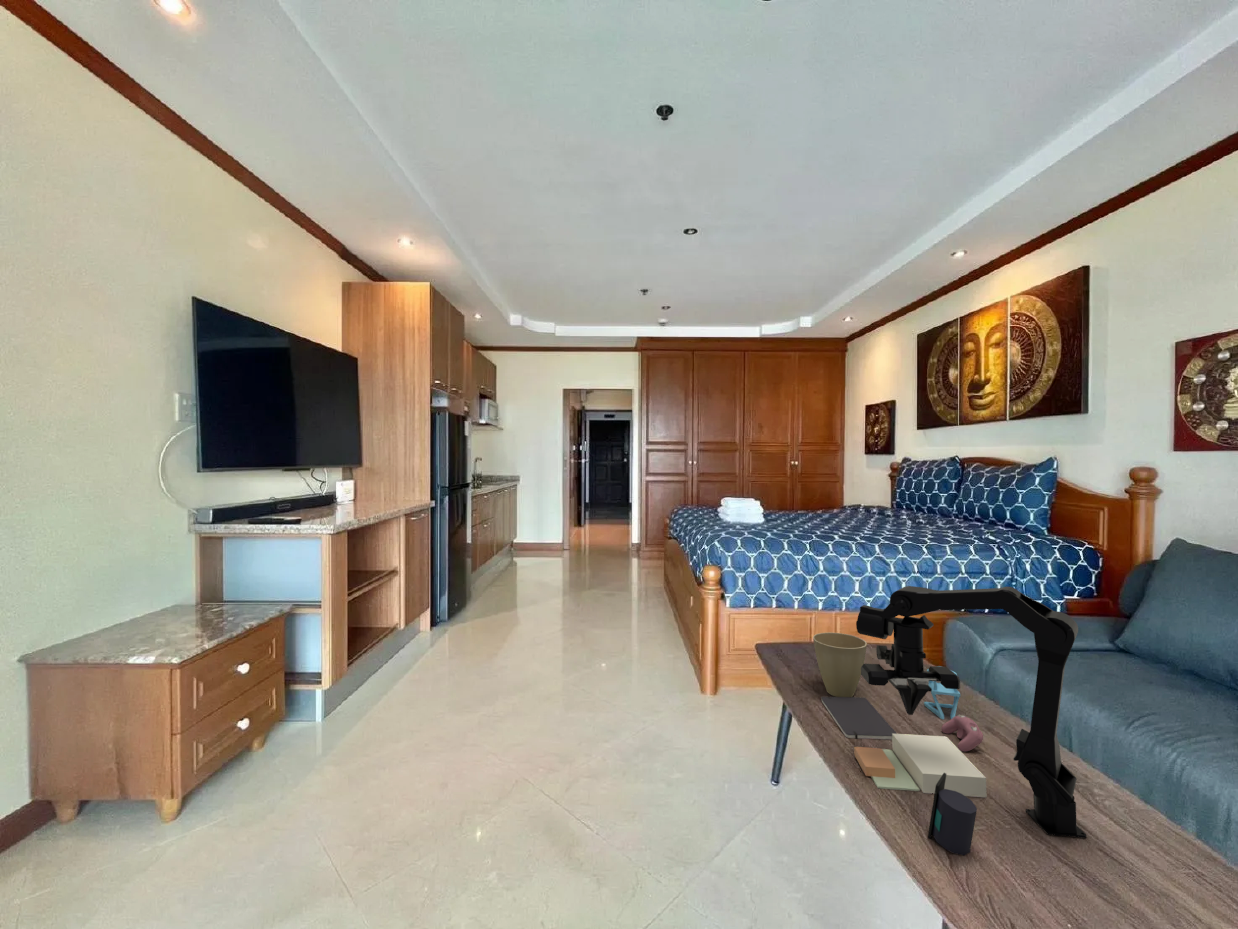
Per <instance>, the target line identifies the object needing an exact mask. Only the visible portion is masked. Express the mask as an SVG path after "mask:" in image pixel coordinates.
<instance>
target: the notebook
mask: <svg viewBox="0 0 1238 929" xmlns="http://www.w3.org/2000/svg"><path fill="white" fill-rule="evenodd" d="M820 698H821V703H822V704H823V705H824V707H825V709H826V710H827V711H828V713H829V714H830V716H831V717H832V719H833V720H834V722H835V723H836V725H837V726H838V727H839V729H840V730H841V732H842V733H843V735H844V737H845V738H848V739H864V740H866V739H867V740H871V739H872V740H890V741H892V734H898V733H897V732H896V730H895V729H893V727H892V726H891V725H890V724H889V722H888V721H887V720H886V719H885V718H884V717H883V716H882V715H881V713H879V712H878V710H877V709H876V708H875V707H874V706H873V705H872V704H871V702H870V701H869V700H868V699H867V698H866V697H857V696H853V697H835V696H821V697H820Z"/></svg>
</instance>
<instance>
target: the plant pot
mask: <svg viewBox="0 0 1238 929" xmlns="http://www.w3.org/2000/svg"><path fill="white" fill-rule="evenodd" d="M812 640H813V645H814V652H815V658H816V662H817V666H818V669H819V672H820V676H821V679H822V681H823V684H824V686H825V689H826V692H827V693H828V694H829V695H831V696H832V697H854V695H855V693H856V691H857V689H858V688H857V687H858V685H859V683H860V680H861V677H862V675H861V667H862V665H863V664H865V661H866V654H867V645H868V643H867V641H866V640H865V639H863V638H860V637H858V636H855V635H853V634H849V633H848V634H847V633H843V632H842V633H841V632H820V633H819V632H818V633H816V634H814V635H813V636H812Z"/></svg>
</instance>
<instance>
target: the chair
mask: <svg viewBox="0 0 1238 929" xmlns="http://www.w3.org/2000/svg"><path fill="white" fill-rule="evenodd" d="M937 667H942V666H940V665H938V666H937ZM950 670H951V669H950ZM926 671H928V672H929V668H927V669H926ZM951 671H952V672H953V673H955V674H956V675H957V676H958V674H957V672H955V671H953V670H951ZM929 687H931V688H932V691H930V692H931V696H932V698H933V701H934V702H931V701H924V702H923V706H925V707H926V708H927V709H928V710H930V712H931V713H933V714H935V715H936V716H937V717H938V718H939V719H941V720H945V714H944V712H943V709H942V708H944V709H945V708H946V709H951V710H950V720H951V719H952V718H953V717H955V716H956V713H957V707H958V704H959V700H960V698H961V693H960V691H959V689H946V688H945V687H944V686H943V685H942V684H941V682H938V681H929ZM937 695H942V696H943V695H945V696H952V697H953V701H952V702H953V703H952V704H949V703H940V702H939V700H938V698H937ZM935 707H936V708H935Z"/></svg>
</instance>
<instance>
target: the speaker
mask: <svg viewBox="0 0 1238 929" xmlns="http://www.w3.org/2000/svg"><path fill="white" fill-rule="evenodd" d="M945 780H946V773H943V775H942V776H941V778H940V779H939V781H938V782H937V784H936V787H935V794H934V795H933V800H932V808H931V814H930V820H929V827H928V834H927V838H928V839H931V838H932V837H934V839H935V842H937V843H938V844H939V845H940V846H942V847H943V848H944V849H945V850H946V851H948V852H949V853H952V854H957V855H961V856H966V855H968V854H970V853H971V847H972V841H973V836H974V829H975V823H976V818H977V817H976V816H977V812H978V808H977V806H976V805H975V803H974V802H973V800H971V799H970V798H968V796H964V795H963V794H961V793H959V792H956V791H952V790H948V789H944V786H945Z"/></svg>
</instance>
